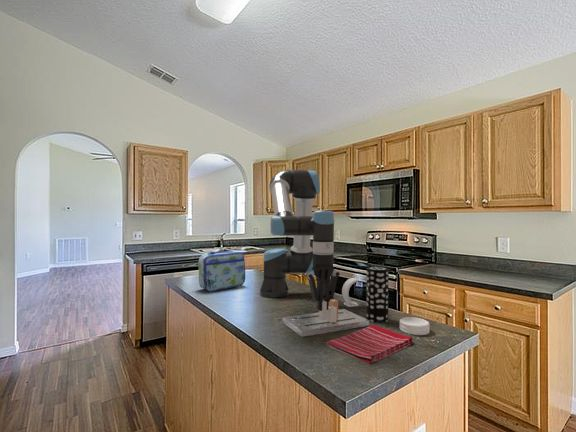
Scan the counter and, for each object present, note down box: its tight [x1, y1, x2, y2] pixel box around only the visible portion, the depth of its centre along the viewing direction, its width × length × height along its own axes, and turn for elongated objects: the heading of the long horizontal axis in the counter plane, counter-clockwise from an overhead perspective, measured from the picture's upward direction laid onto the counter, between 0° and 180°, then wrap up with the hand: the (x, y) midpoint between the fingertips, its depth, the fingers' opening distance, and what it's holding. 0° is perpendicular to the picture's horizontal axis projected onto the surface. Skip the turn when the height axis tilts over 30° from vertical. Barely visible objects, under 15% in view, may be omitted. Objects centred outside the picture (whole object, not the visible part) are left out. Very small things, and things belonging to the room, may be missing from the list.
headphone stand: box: [341, 277, 359, 308], centre depth 145 cm, size 5×6×12 cm
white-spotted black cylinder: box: [365, 266, 390, 324], centre depth 125 cm, size 8×8×20 cm
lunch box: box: [197, 250, 246, 293], centre depth 178 cm, size 26×11×21 cm, turn 130°
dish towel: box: [325, 324, 414, 365], centre depth 100 cm, size 17×24×3 cm
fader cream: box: [327, 305, 337, 323], centre depth 115 cm, size 3×2×5 cm
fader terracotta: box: [328, 298, 339, 314], centre depth 125 cm, size 3×2×5 cm
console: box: [282, 308, 370, 338], centre depth 119 cm, size 16×28×2 cm, turn 114°
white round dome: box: [399, 316, 431, 336], centre depth 113 cm, size 10×10×4 cm
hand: (322, 319), depth 114 cm, fingers closed
